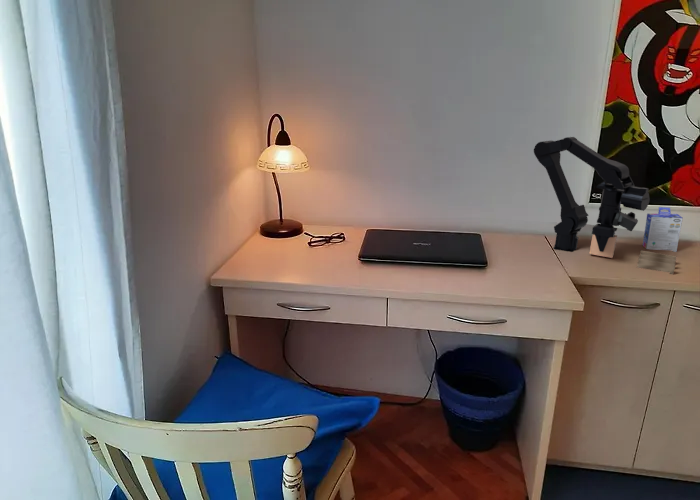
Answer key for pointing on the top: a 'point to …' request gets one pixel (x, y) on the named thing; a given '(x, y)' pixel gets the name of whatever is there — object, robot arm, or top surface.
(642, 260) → the slot rack
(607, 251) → the terracotta block
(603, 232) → the robot arm
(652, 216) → the ink cartridge box
